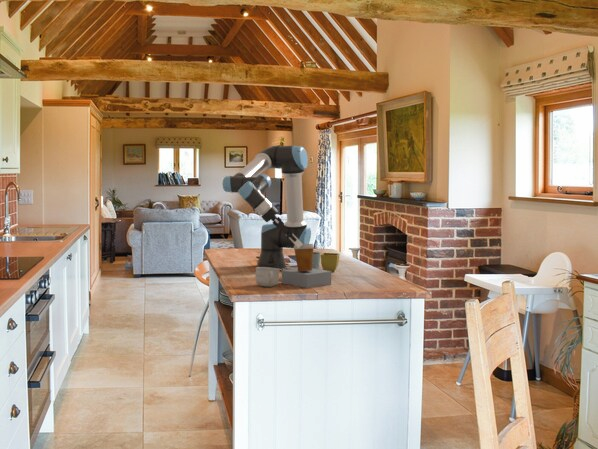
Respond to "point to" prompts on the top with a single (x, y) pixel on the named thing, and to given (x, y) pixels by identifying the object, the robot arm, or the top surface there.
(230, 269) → the top surface
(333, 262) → the flower pot
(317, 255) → the grey-green cup
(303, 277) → the riser block
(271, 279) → the teacup
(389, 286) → the top surface
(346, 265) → the top surface
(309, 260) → the disposable coffee cup
